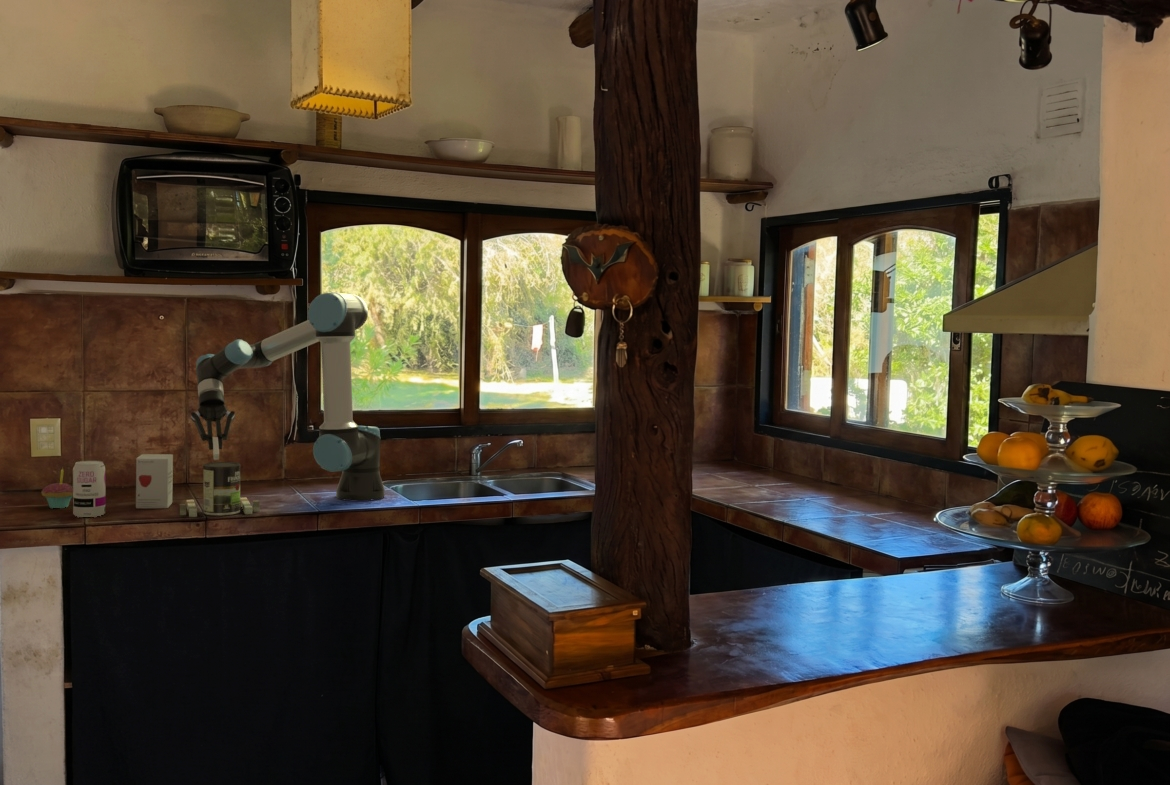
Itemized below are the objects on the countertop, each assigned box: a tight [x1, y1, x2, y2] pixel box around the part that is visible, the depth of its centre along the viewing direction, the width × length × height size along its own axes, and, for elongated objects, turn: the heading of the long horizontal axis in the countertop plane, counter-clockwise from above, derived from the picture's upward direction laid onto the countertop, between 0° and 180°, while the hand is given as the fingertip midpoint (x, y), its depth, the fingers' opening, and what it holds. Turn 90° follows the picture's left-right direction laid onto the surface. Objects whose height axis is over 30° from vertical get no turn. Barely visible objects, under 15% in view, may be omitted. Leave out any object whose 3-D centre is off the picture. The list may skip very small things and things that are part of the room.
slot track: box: [179, 496, 260, 518], centre depth 300 cm, size 16×22×3 cm
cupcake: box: [40, 466, 73, 509], centre depth 297 cm, size 9×8×12 cm
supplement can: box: [72, 460, 107, 518], centre depth 287 cm, size 8×8×15 cm
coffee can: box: [202, 461, 242, 516], centre depth 297 cm, size 10×10×14 cm
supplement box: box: [135, 453, 174, 509], centre depth 303 cm, size 9×9×15 cm
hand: (216, 456), depth 305 cm, fingers closed
